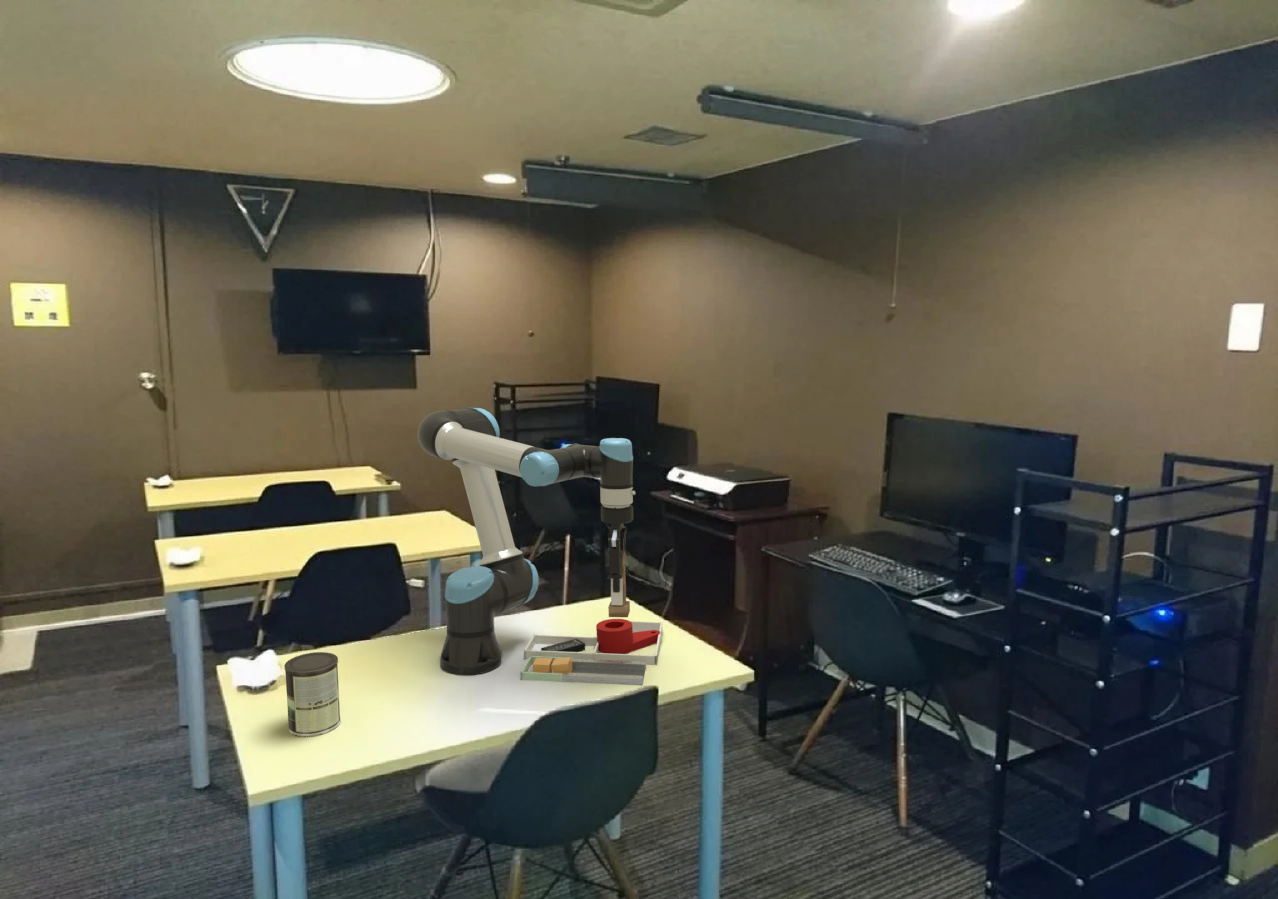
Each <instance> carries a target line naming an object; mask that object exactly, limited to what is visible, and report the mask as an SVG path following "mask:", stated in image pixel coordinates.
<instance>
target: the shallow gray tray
mask: <svg viewBox="0 0 1278 899" xmlns="http://www.w3.org/2000/svg"><path fill="white" fill-rule="evenodd" d="M571 661H572V668H573V669H572V672H571V673H569V672H563V675H562V682H563V683H565V682H566V683H582V684H583V683H585V684H587V683H588V684H606V685H609V684H610V685H611V684H612V685H630V686H631V685H634V686H643V683H644V680H645V675H646V669H647V665H646V662H639V661H616V660H592V659H571Z"/></svg>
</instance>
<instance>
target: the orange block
mask: <svg viewBox="0 0 1278 899" xmlns="http://www.w3.org/2000/svg"><path fill="white" fill-rule="evenodd" d="M572 669H573V668H572V661H571V657H567V658H557V659H554V661H553V663H552V671H551V672H552V673H559V674H563V672H569V673H571V672H572Z"/></svg>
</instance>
